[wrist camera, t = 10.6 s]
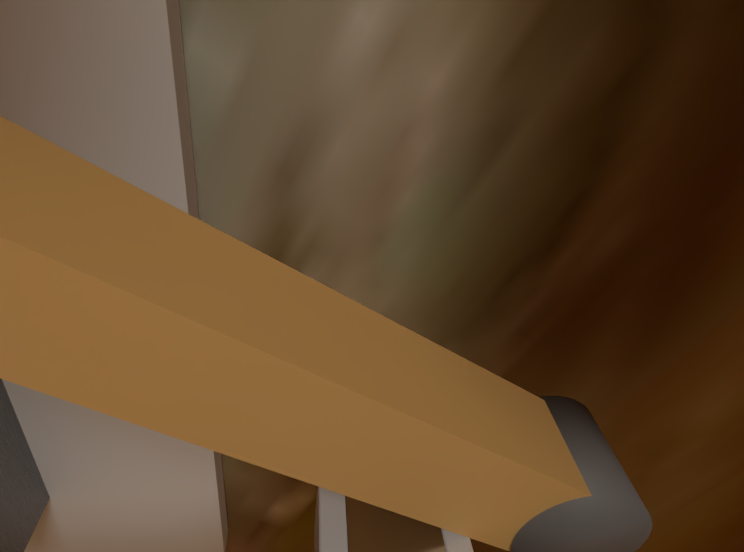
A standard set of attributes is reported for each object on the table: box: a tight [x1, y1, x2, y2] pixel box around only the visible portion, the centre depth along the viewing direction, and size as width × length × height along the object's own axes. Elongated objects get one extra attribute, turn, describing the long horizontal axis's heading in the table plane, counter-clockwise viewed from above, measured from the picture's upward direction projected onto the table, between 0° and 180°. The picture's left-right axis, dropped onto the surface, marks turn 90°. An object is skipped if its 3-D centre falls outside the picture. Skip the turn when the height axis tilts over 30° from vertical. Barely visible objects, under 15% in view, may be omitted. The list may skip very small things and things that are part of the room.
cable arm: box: [0, 116, 652, 552], centre depth 7 cm, size 22×4×2 cm, turn 54°
